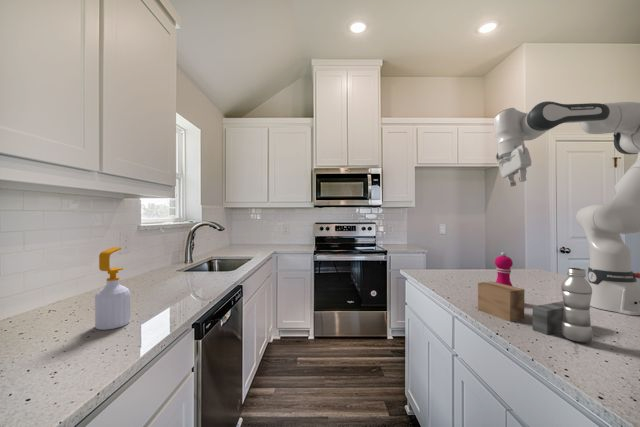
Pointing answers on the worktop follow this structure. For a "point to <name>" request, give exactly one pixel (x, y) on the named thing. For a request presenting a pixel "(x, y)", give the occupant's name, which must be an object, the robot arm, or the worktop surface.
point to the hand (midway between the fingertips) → (518, 183)
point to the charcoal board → (548, 317)
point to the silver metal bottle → (576, 306)
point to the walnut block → (501, 300)
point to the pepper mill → (503, 269)
